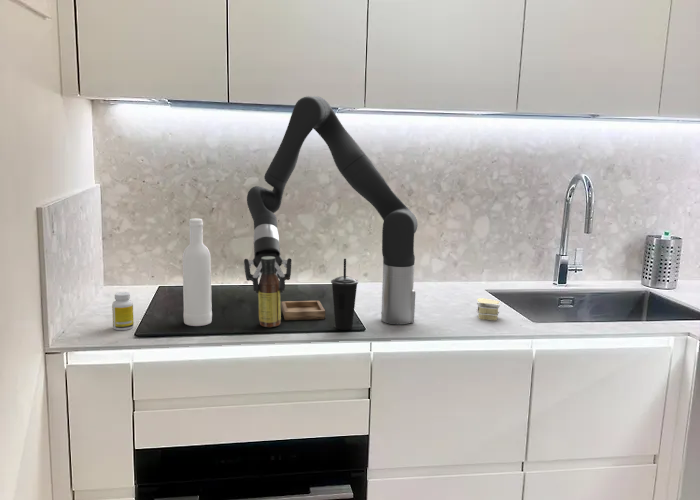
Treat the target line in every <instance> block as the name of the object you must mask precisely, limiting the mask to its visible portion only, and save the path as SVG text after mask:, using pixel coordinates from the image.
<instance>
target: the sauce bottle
mask: <svg viewBox="0 0 700 500" xmlns="http://www.w3.org/2000/svg"><path fill="white" fill-rule="evenodd" d="M275 262H276V260H275V257H272V256H266V257H262V258H261V263H262V274H261V276H260V277H259V280H258V293H257V297H258V300H257V301H258V302H257V304H258V321H259V325H260V326H261V327H263V328H264V327H265V328H275V327H278V326H280V325H281V320H282V317H281V316H282V310H281V293H280V282H279V281H280V280H279V279H278V277H277V275H276V274H275Z"/></svg>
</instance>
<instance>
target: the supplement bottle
mask: <svg viewBox="0 0 700 500" xmlns="http://www.w3.org/2000/svg"><path fill="white" fill-rule="evenodd" d="M130 298H131V293H130V292H127V291H120V292H115V293H114V300H115V301H113V302H112V305H111V308H112V312H111V313H112V327H113V328H112V329H114V330H115V331H126V330H127V331H128V330H131V329H133V328H134V325H135V324H134V323H135V322H134V304H133V301H132V300H130Z"/></svg>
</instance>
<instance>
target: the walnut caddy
mask: <svg viewBox="0 0 700 500" xmlns="http://www.w3.org/2000/svg"><path fill="white" fill-rule="evenodd" d="M280 306H281V314H282V316H283V318H284V321H302V320H304V321H306V320H325V319H326V309H325V308H324V307H323V304H322V303H321V301H320V300H295V301H294V300H293V301H291V300H289V301H285V300H284V301H280Z"/></svg>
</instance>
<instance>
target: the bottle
mask: <svg viewBox="0 0 700 500" xmlns="http://www.w3.org/2000/svg"><path fill="white" fill-rule="evenodd" d="M203 221H204V220H203V219H202V218H199V217H198V218H197V217H196V218H190V219H189V222H188V226H189V244H188V245H187V246H186V247H185V248H184V249H183V254H182V281H183V282H182V289H183V291H182V293H183V294H182V296H183V298H182V299H183V323H184V324H185V325H187V326H190V327H201V326H202V327H203V326H206V325H210V324H211V323H212V321H213V320H212V319H213V311H212V309H213V307H212V255H211V252H210V250H209V248H208V247H207V246H206V244H204V231H203V230H204V229H203V228H204V222H203Z"/></svg>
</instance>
